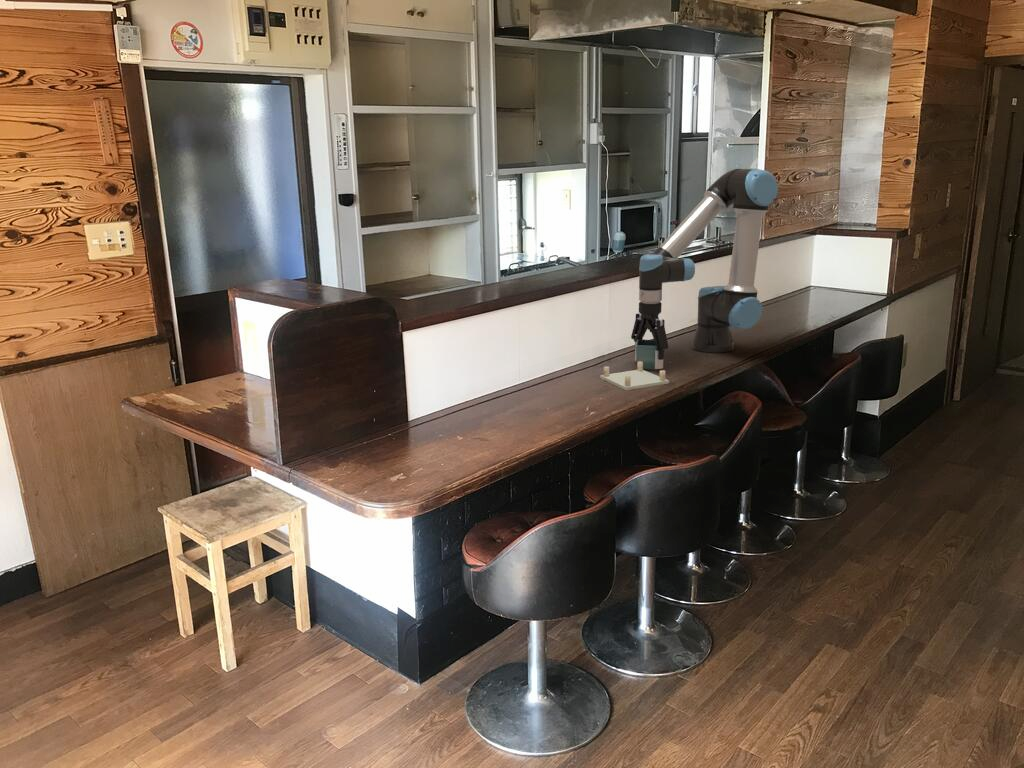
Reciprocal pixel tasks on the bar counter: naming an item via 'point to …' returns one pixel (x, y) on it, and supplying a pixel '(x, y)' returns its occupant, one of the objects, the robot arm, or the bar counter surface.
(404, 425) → the bar counter surface
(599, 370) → the bar counter surface
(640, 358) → the flower pot
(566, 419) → the bar counter surface
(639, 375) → the pot stand
